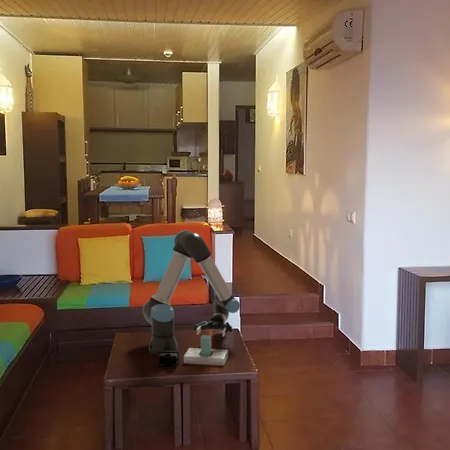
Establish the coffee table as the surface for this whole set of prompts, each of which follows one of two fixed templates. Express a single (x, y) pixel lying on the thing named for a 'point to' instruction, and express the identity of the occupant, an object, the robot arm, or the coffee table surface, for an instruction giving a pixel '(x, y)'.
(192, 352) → the grey rectangular frame
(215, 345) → the coffee table surface
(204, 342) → the teal post
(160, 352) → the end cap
